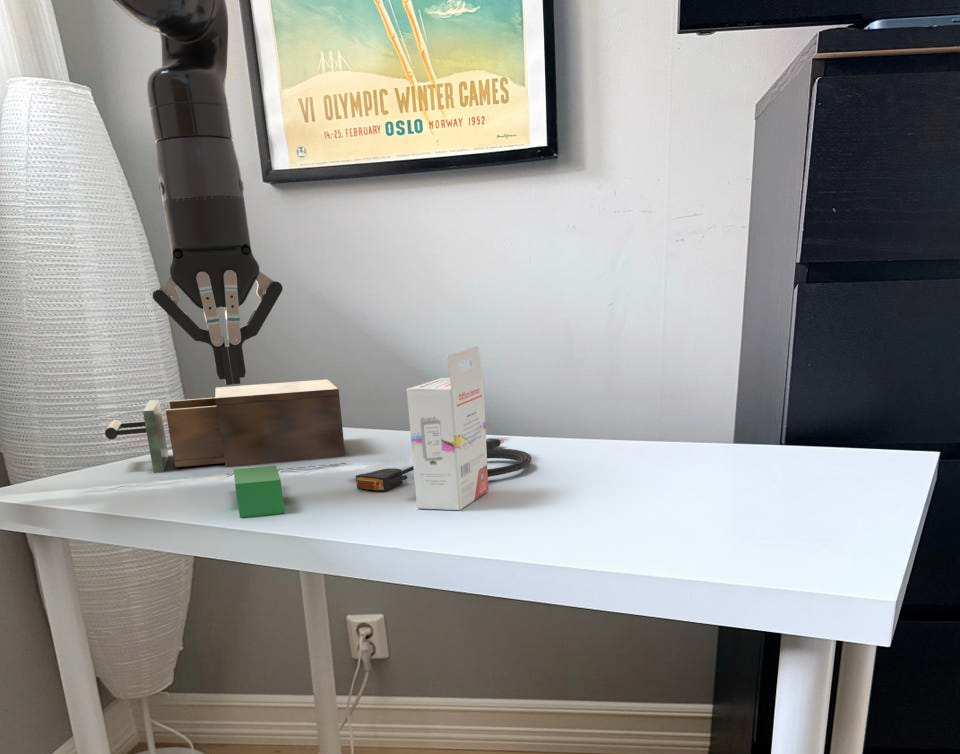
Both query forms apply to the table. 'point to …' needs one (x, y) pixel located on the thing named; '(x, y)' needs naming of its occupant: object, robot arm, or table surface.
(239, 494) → the green rectangular block
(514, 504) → the table surface
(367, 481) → the cable
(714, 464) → the table surface
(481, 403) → the ink cartridge box
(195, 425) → the drawer
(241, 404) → the cabinet
